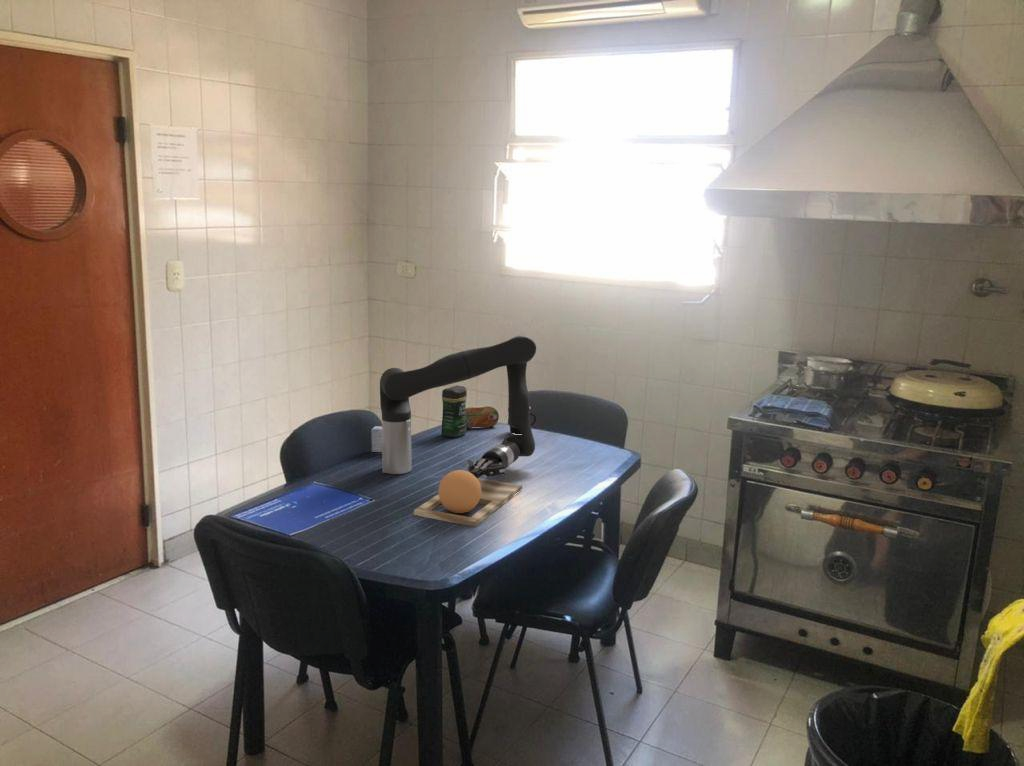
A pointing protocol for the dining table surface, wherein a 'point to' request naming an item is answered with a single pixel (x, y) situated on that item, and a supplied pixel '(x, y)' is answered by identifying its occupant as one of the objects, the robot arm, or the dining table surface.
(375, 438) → the medicine box
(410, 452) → the robot arm
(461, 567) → the dining table surface
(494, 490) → the board
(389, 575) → the dining table surface
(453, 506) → the ball
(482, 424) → the tin
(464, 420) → the coffee jar
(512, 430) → the coffee mug
